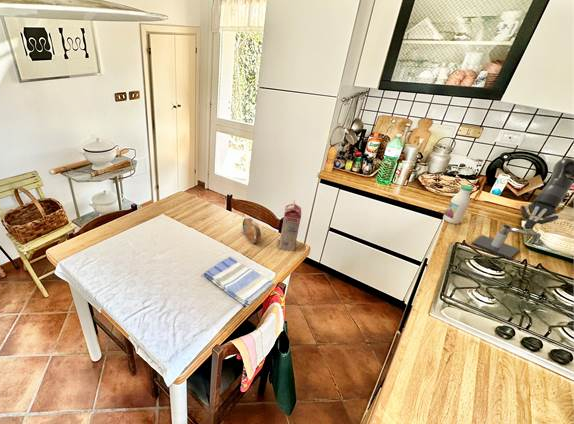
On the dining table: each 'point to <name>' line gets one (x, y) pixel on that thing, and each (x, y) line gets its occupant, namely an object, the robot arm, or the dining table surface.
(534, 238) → the spout
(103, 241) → the dining table surface
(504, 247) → the faucet base
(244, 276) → the dish towel
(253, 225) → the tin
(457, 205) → the milk bottle
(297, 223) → the juice carton
